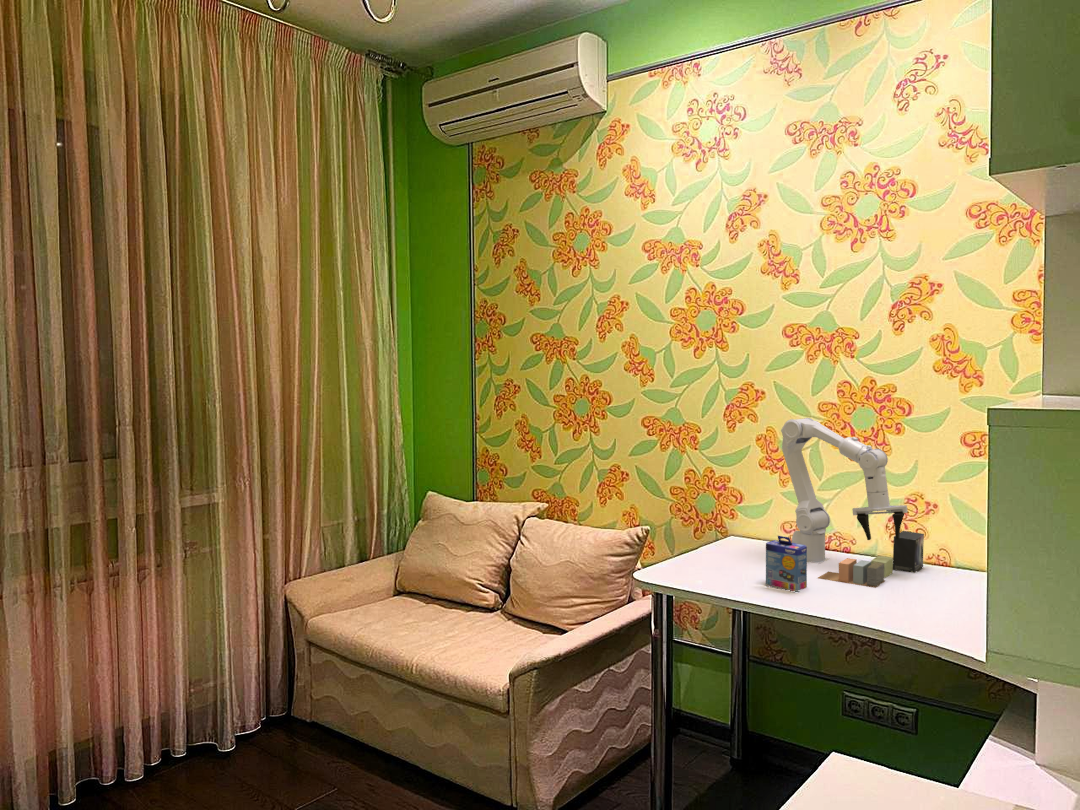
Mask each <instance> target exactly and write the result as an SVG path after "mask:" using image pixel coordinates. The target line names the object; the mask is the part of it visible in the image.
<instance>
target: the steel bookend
mask: <svg viewBox="0 0 1080 810" xmlns="http://www.w3.org/2000/svg"><path fill="white" fill-rule="evenodd" d="M884 580H885V578H884V563H878V562H875V563H873V564H872V565H870V566H868V567H867V585H868V586H874V587H876V586H878V585H879V584H880V585H882V584H883V583H884V582H883V581H884ZM882 582H883V583H882ZM881 583H882V584H881ZM880 585H879V586H880ZM879 586H878V587H879ZM876 588H877V587H876Z"/></svg>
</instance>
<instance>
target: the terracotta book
mask: <svg viewBox="0 0 1080 810" xmlns="http://www.w3.org/2000/svg"><path fill="white" fill-rule="evenodd" d="M856 563H858V562H857V559H855V558H850V557H847V558H845V559H843V560H842V561H839V562H838V573H839V581H844V582H849V581H851V580H852V579H853V565H855V564H856Z"/></svg>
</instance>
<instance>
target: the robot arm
mask: <svg viewBox="0 0 1080 810" xmlns="http://www.w3.org/2000/svg"><path fill="white" fill-rule="evenodd" d="M780 432H781V435H782V444H781V450H782V454H783V457H784V460H785V463H786V467H787V470H788V474H789V476H790V480H791V483H792V486H793V489H794V492H795V493H794V494H795V496H796V498H797V499H796V500H797V502H798V505H797V506H796V508H795V515H796V519H795V523H796V527H797V528H798V530H794V532H793V534H792V536H791V543H796V544H801V545H806V546H807V563H812V564H818V565H819V564H823V563H825V562H827V561H829V560H830V558H829V557H826V532H827V528H828V527H829V526H830V523H831V518H830V515H829V513H828V512H827V511H826V509H825V507H824V504H823V503H822V502H821V501H820V500H818V499H817V497H816V493H815V490H814V487H813V484H812V480H811V476H810V473H809V471H808V467H807V464H806V461H805V458H804V455H803V452H802V450H803V448H804V447H805V445H806V444H807V443H808V442H809V441H810V440H811V439H812V438H817V439H818V440H821V441H822V442H825V443H827V444H829V445H831V446H834V447H835V448H837V449H838V451H839V454H840V455H842V456H844V457H846V458H848V459H850V460H851V461H854V462H855V463H857V464H858V465H859V467H860V469H862V471H863V475H864V483H865V488H866V489H865V491H866V498H867V506H866V507H863V506H862V507H854V508H852V510H851V511H852V516H856V520H857V521H858V522H859V524H860V526H861V527H862V529H863V531H864V534H865V536H866V539H867V541H871V540H872V535H871V529H870V522H869V521H870V519H869V515H880V514H882V515H883V514H892V519H893V524H894V534H895V535H894V536H895V537H896V539H899V538H900V532H901V527H902V522H903V519H904V516H905V514H907V513H908V512H909V511H908V505H906V504H905V505H891V504H890V497H889V489H888V482H887V474H886V466H887V465H888V461H889V459H888V455H887V454H886V452H885V451H883V450H882V449H881V448H872V447H873V446H871V445H870V444H869V445H866V444H864V443H863V442H860V441H859V438H858V437H856V436H853V437H852V436H848V437H845V438H844V437H843V436H842V435H840V434H838V433H836V432H835V431H833V430H831V429H830V428H828V427H826V426H825V425H823V424H822V423H820V422H819V421H818V420H814V419H812V418H810V417H804V418H799V419H798V418H796V419H793V418H791V419H788V420H787V421H785V422H784V424H783V425H782V428H781V430H780Z"/></svg>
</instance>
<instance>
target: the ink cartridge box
mask: <svg viewBox="0 0 1080 810" xmlns="http://www.w3.org/2000/svg"><path fill="white" fill-rule="evenodd" d="M777 539H778V540H776V539H774V540H771V541H768V542H766V543H765V585H767V586H772V587H777V588H776V589H778V588H782V589H785V590H784V591H786V590H790V591H789V592H791V591H795V592H798V593H800V592H801V590H803V589H806V588H808V586H807V585H808V582H807V581H808V576H807V575H808V573H807V571H808V565H807V564H808V562H807V546H806V545H801V544H796V543H792V539H791V538H790V537H788V536H782V535H777ZM783 539H784V540H783ZM782 589H781V590H782ZM795 592H794V593H795Z"/></svg>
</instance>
